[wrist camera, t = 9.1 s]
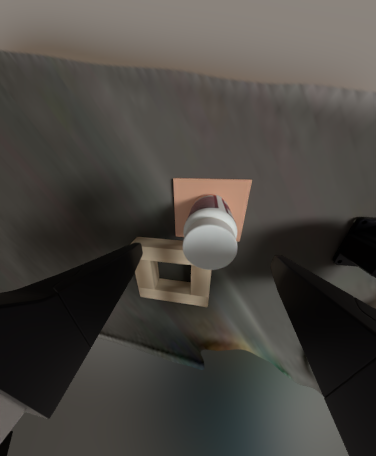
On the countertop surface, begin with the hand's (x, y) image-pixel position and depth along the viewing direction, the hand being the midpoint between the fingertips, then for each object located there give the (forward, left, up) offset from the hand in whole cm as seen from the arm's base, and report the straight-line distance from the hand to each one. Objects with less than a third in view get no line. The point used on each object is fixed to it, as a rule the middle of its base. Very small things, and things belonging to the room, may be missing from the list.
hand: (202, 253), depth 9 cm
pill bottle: (0, 0, -9) cm, 9 cm away
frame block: (+5, +11, -10) cm, 15 cm away
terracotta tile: (0, 0, -10) cm, 10 cm away
